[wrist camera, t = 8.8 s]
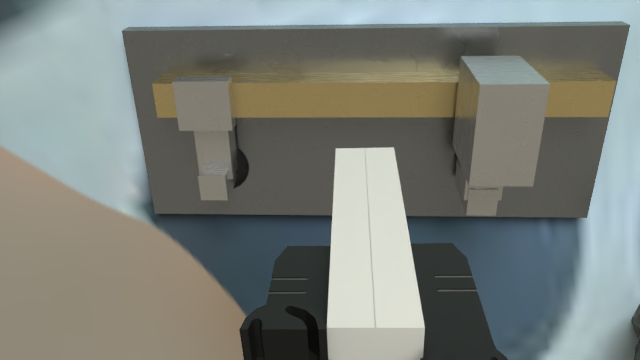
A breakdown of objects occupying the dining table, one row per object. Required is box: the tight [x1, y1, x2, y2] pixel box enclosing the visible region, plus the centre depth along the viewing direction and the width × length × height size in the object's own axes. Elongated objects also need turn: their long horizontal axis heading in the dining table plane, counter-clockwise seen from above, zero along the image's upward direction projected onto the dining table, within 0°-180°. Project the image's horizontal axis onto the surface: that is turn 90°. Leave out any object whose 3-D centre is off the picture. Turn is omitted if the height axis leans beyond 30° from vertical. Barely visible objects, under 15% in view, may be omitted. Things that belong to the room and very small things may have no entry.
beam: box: [152, 71, 616, 200], centre depth 32 cm, size 7×25×3 cm, turn 91°
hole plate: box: [122, 22, 630, 218], centre depth 34 cm, size 12×28×1 cm, turn 91°
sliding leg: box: [453, 56, 550, 216], centre depth 29 cm, size 8×3×7 cm, turn 1°
